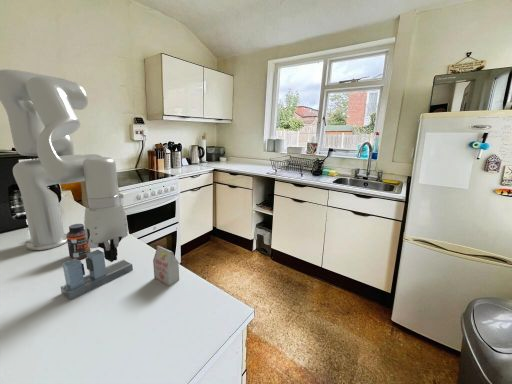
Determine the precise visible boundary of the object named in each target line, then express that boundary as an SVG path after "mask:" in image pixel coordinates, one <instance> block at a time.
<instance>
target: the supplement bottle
mask: <svg viewBox="0 0 512 384" xmlns="http://www.w3.org/2000/svg"><path fill="white" fill-rule="evenodd" d="M66 234H67V242H66V243H67V247H68V254H69V258H70V260H72V259H74V258H76V259H78V260H81V259H86V258H87V253H90V252H92V251H91V248H89V247H88V243H89V240H86V237H85V227H84V224H83V223H75V224H71V225H69V226H68V232H67V233H66Z"/></svg>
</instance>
